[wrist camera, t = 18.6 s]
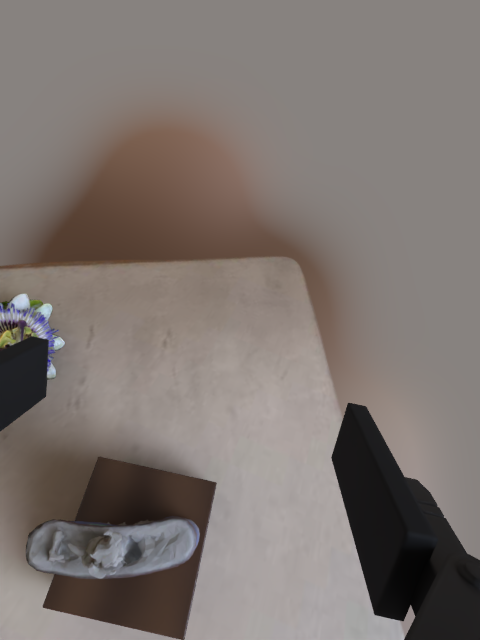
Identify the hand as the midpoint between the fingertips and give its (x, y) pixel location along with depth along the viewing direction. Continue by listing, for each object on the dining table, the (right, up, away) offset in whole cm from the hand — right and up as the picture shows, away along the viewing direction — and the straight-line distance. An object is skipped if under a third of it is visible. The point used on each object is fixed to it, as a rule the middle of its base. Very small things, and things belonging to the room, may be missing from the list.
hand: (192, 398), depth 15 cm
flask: (-6, -13, +12) cm, 19 cm away
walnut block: (-6, -16, +17) cm, 24 cm away
